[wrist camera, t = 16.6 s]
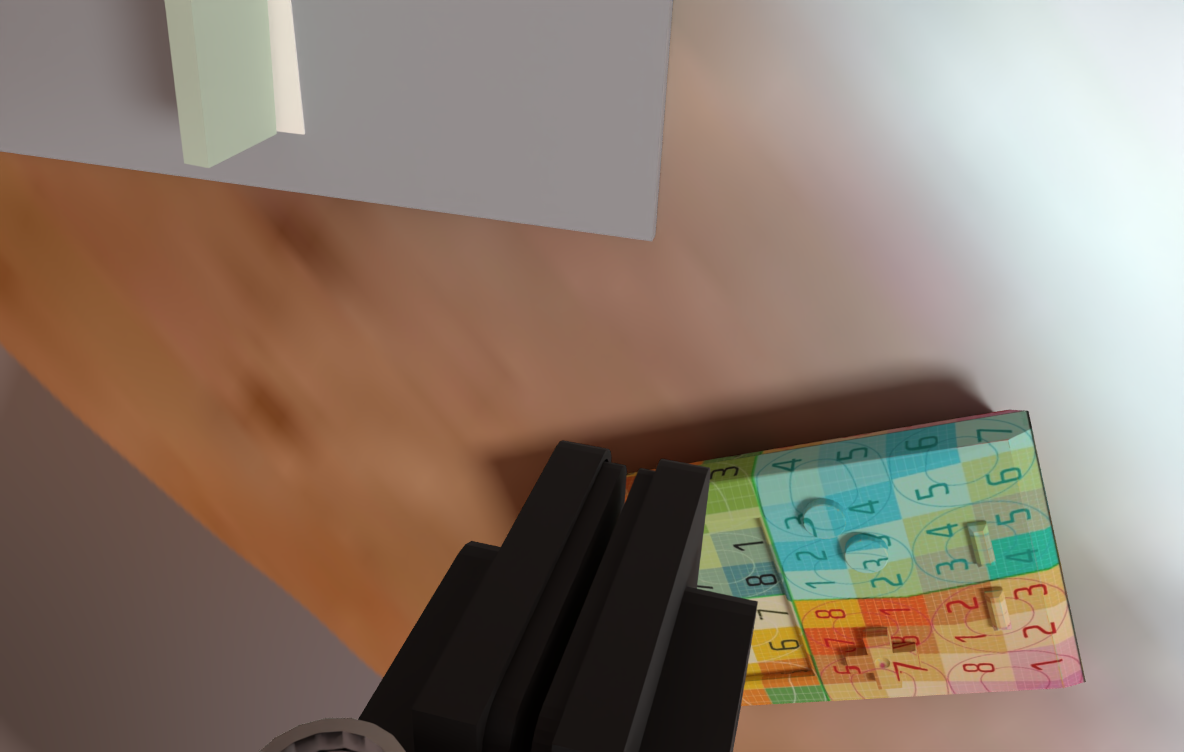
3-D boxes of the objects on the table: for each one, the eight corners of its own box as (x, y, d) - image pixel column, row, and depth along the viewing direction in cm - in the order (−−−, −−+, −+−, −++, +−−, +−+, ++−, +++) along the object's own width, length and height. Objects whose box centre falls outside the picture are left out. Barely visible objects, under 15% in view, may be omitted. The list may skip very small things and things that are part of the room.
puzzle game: (1089, 699, 38) (612, 728, 46) (1072, 616, 42) (635, 655, 50) (1035, 442, 34) (517, 522, 42) (1021, 377, 38) (551, 460, 45)
